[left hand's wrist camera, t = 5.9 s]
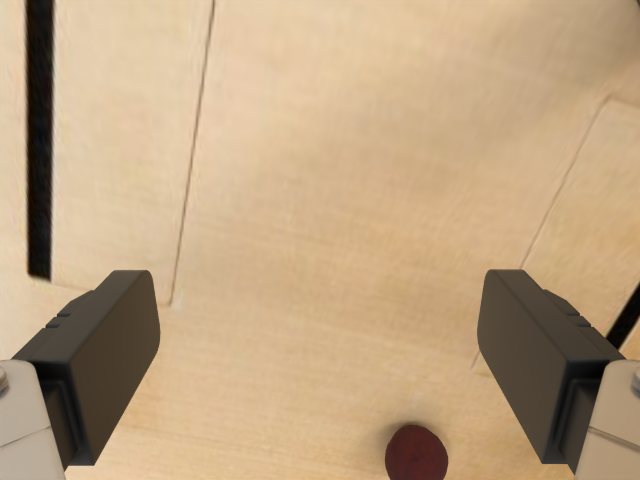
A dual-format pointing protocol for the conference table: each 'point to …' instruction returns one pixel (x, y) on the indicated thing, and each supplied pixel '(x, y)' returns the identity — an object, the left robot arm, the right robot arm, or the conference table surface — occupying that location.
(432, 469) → the potato
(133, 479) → the conference table surface
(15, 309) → the conference table surface
